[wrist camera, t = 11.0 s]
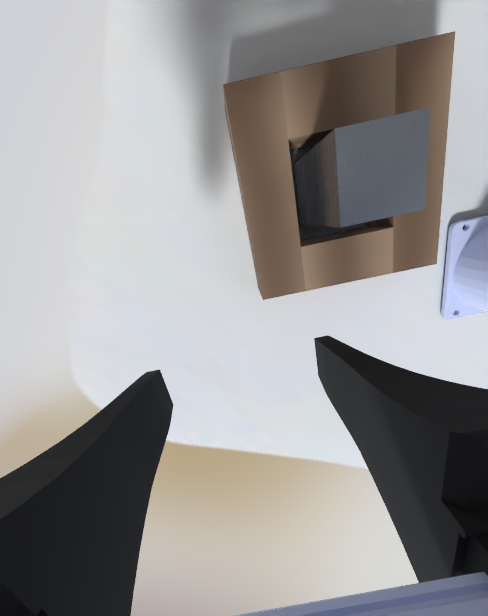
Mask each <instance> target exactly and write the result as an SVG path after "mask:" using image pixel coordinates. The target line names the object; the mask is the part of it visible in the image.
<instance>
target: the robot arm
mask: <svg viewBox="0 0 488 616" xmlns="http://www.w3.org/2000/svg"><path fill="white" fill-rule="evenodd" d="M464 225H465V228H464V229H463V226H464ZM454 311H455V312H454ZM453 312H454V313H453ZM482 312H488V215H486V216H481V217H476V218H472V219H467V220H462V221H457V222H454V223H453V224H452V225H451V226H450V228H449V233H448V244H447V255H446V266H445V277H444V287H443V298H442V309H441V316H442V317H443V318H445V319H452V318H457V317H462V316H467V315H472V314H477V313H482ZM314 339H315V348H316V357H317V366H318V375H319V378H320V380H321V383H322V385H323V387H324V389H325V392H326V394H327V396H328V397H329V399H330V401H331V403H332V404H333V406H334V408H335V409H336V411H337V413H338V414H339V416H340V418H341V419H342V421H343V423H344V424H345V426H346V428H347V429H348V431H349V433H350V434H351V436H352V437H353V439H354V441H355V443H356V445H357V446H358V448H359V450H360V452H361V454H362V456H363V458H364V460H365V462H366V465H367V467H368V469H369V471H370V473H371V475H372V477H373V479H374V481H375V483H376V486H377V488H378V490H379V492H380V494H381V496H382V499H383V501H384V503H385V505H386V507H387V510H388V512H389V514H390V516H391V519H392V521H393V523H394V525H395V527H396V530H397V532H398V535H399V537H400V539H401V541H402V544H403V545H404V548H405V551H406V553H407V555H408V558H409V560H410V562H411V565H412V567H413V569H414V571H415V574H416V577H417V579H418V581H419V583H417V584H411V585H406V586H400V587H394V588H389V589H384V590H377V591H372V592H366V593H360V594H355V595H349V596H343V597H338V598H332V599H327V600H321V601H315V602H310V603H304V604H299V605H293V606H287V607H281V608H275V609H270V610H264V611H259V612H253V613H248V614H242V615H236V616H488V389H483V388H477V387H472V386H467V385H462V384H458V383H453V382H449V381H445V380H441V379H437V378H433V377H429V376H425V375H422V374H419V373H415V372H412V371H409V370H406V369H403V368H400V367H397V366H394V365H392V364H389V363H386V362H384V361H381V360H379V359H376V358H374V357H372V356H369V355H367V354H365V353H363V352H361V351H359V350H356V349H354V348H352V347H350V346H348V345H346V344H344V343H342V342H340V341H338V340H336V339H334V338H332V337H330V336H323V337H318V338H314ZM172 409H173V403H172V400H171V398H170V395H169V392H168V390H167V387H166V385H165V382H164V379H163V377H162V374H161V372H160V370H155V371H151V372H147V373H145V374H144V375H142V376H141V377H140V378H139V379H137V380H136V381H135V382H134V383H133V384H132V385H130V386H129V387H128V388H127V389H126V390H125V391H124V392H122V393H121V394H120V395H119V396H118V397H117V398H115V399H114V400H113V401H112V402H111V403H110V404H108V405H107V406H106V407H105V408H104V409H102V410H101V411H100V412H99V413H97V415H95V416H94V417H93V418H91V419H90V420H89V421H88V422H86V423H85V424H84V425H83V426H81V427H80V428H78V429H77V430H76V431H74V432H73V433H71V434H70V435H69V436H67V437H66V438H64V439H63V440H62V441H60V442H59V443H57V444H56V445H54V446H53V447H51V448H49V449H48V450H47V451H45V452H43V453H42V454H40V455H39V456H37V457H35V458H34V459H32V460H31V461H29V462H28V463H26V464H24V465H23V466H21V467H19V468H18V469H16V470H14V471H12V472H11V473H9V474H7V475H6V476H4V477H2V478H0V616H130V614H131V606H132V599H133V590H134V584H135V578H136V571H137V564H138V558H139V551H140V546H141V540H142V534H143V528H144V523H145V517H146V513H147V508H148V502H149V498H150V493H151V488H152V485H153V481H154V477H155V474H156V471H157V467H158V464H159V461H160V457H161V454H162V451H163V447H164V444H165V441H166V437H167V434H168V431H169V427H170V422H171V416H172Z"/></svg>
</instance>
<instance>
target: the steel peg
mask: <svg viewBox="0 0 488 616" xmlns="http://www.w3.org/2000/svg"><path fill="white" fill-rule="evenodd" d="M430 110H431V107H429V108H424V109H420V110H415V111H411V112H406V113H402V114H397V115H393V116H389V117H384V118H380V119H375V120H371V121H366V122H362V123H357V124H353V125H348V126H344V127H340V128H335V129H334V130H333V131H331V132H330V133H329V134H328V135H327V136H326V137H325V138H323V139H322V140H321V141H320V142H319V143H318V144H317V145H316V146H314V147H313V148H312V149H311V150H310V151H309V152H308V153H306V154H305V155H304V156H303V157H302V158H301V159H300V160H298V161H297V162H296V163H295V164H294V168H295V176H296V185H297V194H298V203H299V212H300V220H301V225H313V226H326V227H339V228H341V227H346V226H351V225H355V224H360V223H365V222H369V221H374V220H379V219H383V218H388V217H393V216H397V215H402V214H407V213H411V212H416V211H421V210H425V198H426V181H427V163H428V145H429V127H430Z"/></svg>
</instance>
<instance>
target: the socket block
mask: <svg viewBox="0 0 488 616" xmlns="http://www.w3.org/2000/svg"><path fill="white" fill-rule="evenodd" d="M454 39H455V32H450V33H446V34H442V35H437V36H433V37H428V38H424V39H420V40H415V41H411V42H407V43H402V44H398V45H394V46H389V47H385V48H381V49H376V50H372V51H367V52H363V53H359V54H354V55H350V56H346V57H341V58H337V59H333V60H328V61H324V62H319V63H315V64H311V65H306V66H302V67H298V68H293V69H289V70H285V71H280V72H276V73H271V74H267V75H263V76H258V77H254V78H250V79H245V80H241V81H237V82H232V83H228V84H224V102H225V112H226V118H227V123H228V128H229V134H230V139H231V144H232V150H233V155H234V160H235V166H236V171H237V176H238V182H239V187H240V192H241V198H242V203H243V208H244V214H245V219H246V224H247V230H248V235H249V240H250V246H251V251H252V256H253V262H254V267H255V272H256V278H257V283H258V288H259V291H260V293H261V296H262V298H263V300H264V299H269V298H274V297H279V296H284V295H288V294H293V293H298V292H303V291H308V290H312V289H317V288H322V287H327V286H332V285H337V284H341V283H346V282H351V281H356V280H361V279H366V278H370V277H375V276H380V275H385V274H390V273H395V272H399V271H404V270H409V269H414V268H419V267H423V266H428V265H433V264H437V253H438V241H439V228H440V215H441V203H442V190H443V177H444V165H445V152H446V140H447V127H448V114H449V102H450V89H451V76H452V64H453V51H454ZM429 107H431V110H430V127H429V145H428V163H427V181H426V198H425V210H421V211H416V212H411V213H407V214H402V215H397V216H393V217H388V218H383V219H379V220H374V221H369V222H368V226H367V227H362V228H357V229H353V230H348V231H343V232H338V233H334V234H329V235H324V236H320V237H315V238H310V239H305V240H301V241H300V236H299V227H298V219H297V210H296V202H295V193H294V184H293V176H292V167H291V158H290V150H293V149H298V148H302V147H307V146H311V145H316V144H318V143H319V142H320V141H321V140H322V139H323V138H325V137H326V136H327V135H328V134H329V133H330V132H331V131H333V130H334V129H335V128H340V127H344V126H348V125H353V124H357V123H362V122H366V121H371V120H375V119H380V118H384V117H389V116H393V115H397V114H402V113H406V112H411V111H415V110H420V109H424V108H429Z"/></svg>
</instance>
